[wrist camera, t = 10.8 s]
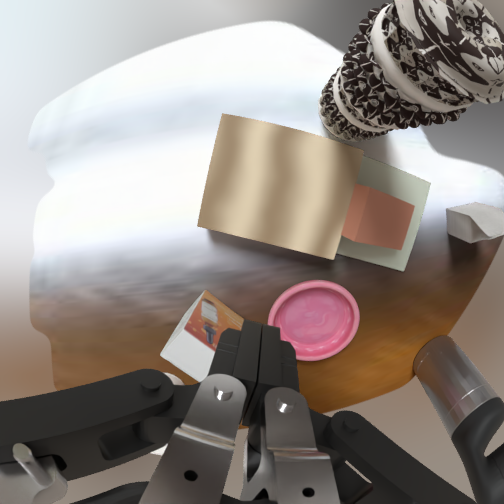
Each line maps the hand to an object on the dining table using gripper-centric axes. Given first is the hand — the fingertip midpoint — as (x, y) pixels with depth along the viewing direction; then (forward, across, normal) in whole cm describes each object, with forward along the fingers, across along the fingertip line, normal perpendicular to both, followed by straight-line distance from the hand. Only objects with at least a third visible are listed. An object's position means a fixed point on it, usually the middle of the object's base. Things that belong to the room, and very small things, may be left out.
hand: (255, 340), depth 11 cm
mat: (+24, -14, -6) cm, 29 cm away
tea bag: (+25, -28, -10) cm, 39 cm away
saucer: (+25, -9, +10) cm, 28 cm away
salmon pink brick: (+22, -12, -5) cm, 26 cm away
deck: (+24, 0, -6) cm, 25 cm away
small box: (+25, +4, +14) cm, 29 cm away
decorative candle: (+24, -6, -17) cm, 31 cm away
